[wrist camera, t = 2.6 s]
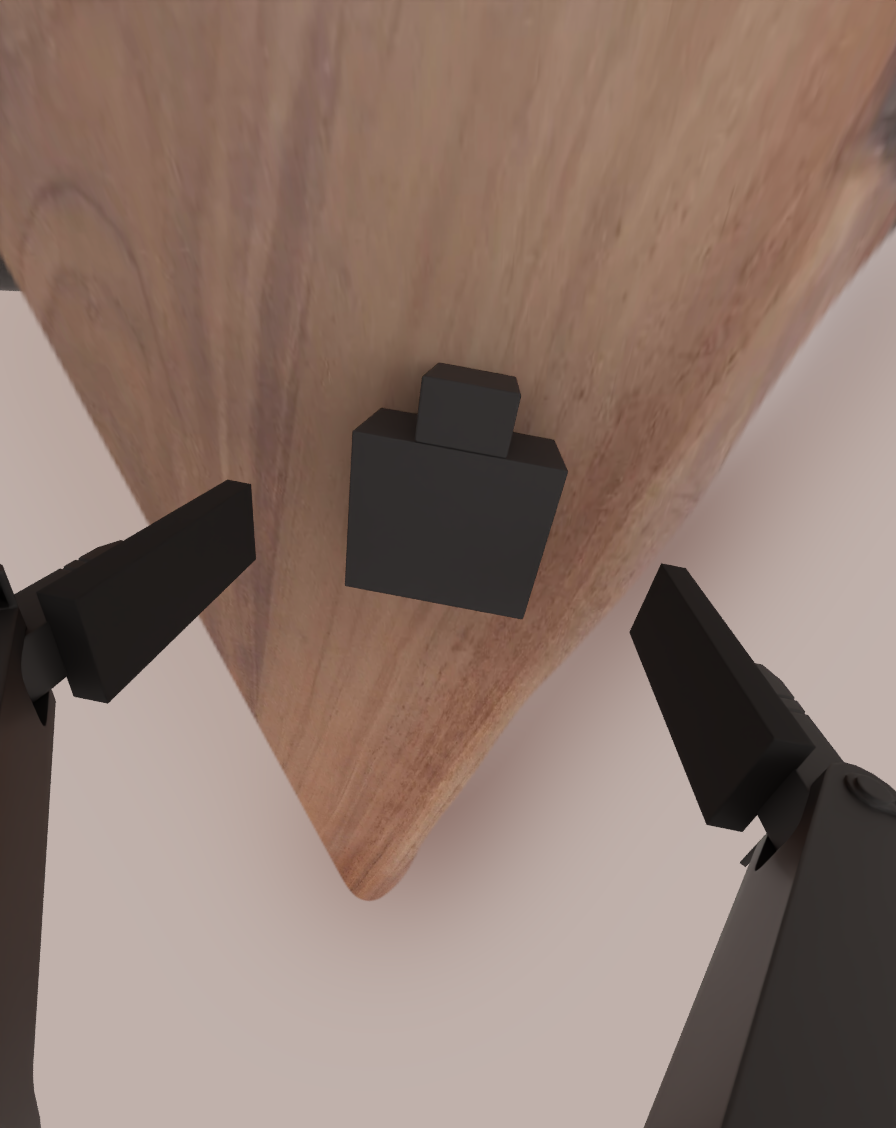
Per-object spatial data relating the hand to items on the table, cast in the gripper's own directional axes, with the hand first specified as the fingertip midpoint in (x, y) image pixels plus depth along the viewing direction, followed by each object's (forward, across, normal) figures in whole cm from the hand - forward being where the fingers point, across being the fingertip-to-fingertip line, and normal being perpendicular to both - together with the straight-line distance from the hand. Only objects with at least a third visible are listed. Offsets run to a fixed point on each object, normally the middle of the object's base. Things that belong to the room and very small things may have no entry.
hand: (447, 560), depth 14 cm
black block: (+6, 0, 0) cm, 6 cm away
